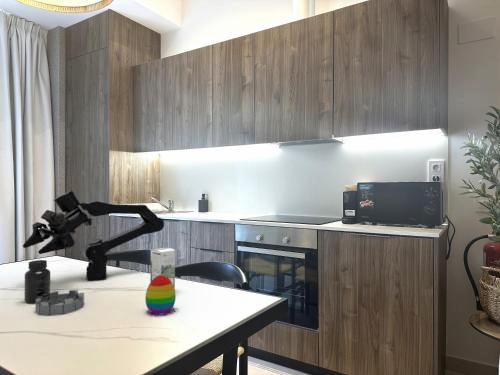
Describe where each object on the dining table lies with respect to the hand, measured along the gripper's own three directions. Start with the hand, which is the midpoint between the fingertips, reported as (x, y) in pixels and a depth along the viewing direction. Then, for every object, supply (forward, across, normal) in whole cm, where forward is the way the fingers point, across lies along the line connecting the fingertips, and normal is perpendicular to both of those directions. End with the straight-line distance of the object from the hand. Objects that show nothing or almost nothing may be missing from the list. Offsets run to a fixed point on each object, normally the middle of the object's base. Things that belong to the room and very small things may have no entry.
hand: (30, 249), depth 116 cm
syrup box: (-13, +41, +18) cm, 47 cm away
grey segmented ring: (+10, +26, +6) cm, 28 cm away
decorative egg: (-2, +53, +10) cm, 54 cm away
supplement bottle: (+10, +13, +9) cm, 19 cm away
